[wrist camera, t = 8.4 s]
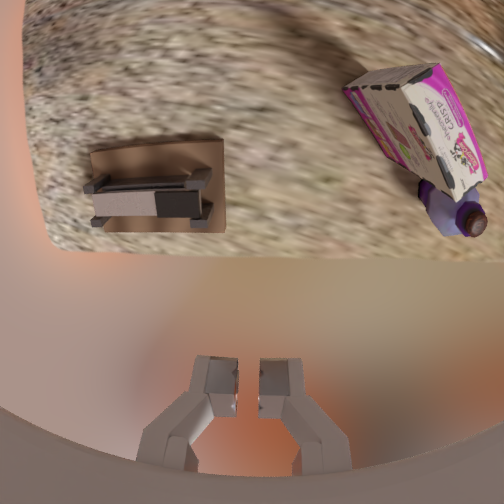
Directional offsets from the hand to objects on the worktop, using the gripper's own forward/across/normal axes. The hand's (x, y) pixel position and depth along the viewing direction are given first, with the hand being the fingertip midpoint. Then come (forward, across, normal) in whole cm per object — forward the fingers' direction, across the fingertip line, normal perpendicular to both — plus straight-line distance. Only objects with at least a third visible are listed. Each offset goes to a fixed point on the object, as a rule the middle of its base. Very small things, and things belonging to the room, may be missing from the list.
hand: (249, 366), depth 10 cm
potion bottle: (+29, -26, +2) cm, 39 cm away
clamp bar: (+24, +13, +3) cm, 27 cm away
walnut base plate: (+29, +13, +3) cm, 32 cm away
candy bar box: (+29, -15, -8) cm, 34 cm away
